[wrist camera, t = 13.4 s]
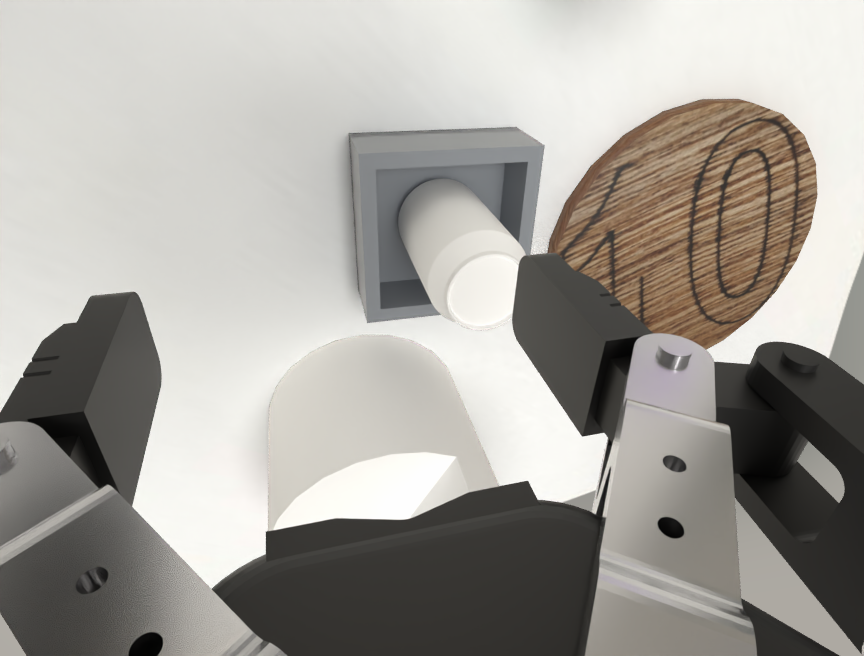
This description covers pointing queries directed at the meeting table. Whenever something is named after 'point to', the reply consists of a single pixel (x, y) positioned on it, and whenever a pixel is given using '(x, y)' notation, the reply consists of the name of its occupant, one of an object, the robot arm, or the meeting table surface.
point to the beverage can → (461, 254)
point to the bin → (414, 165)
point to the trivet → (694, 216)
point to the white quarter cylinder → (369, 435)
